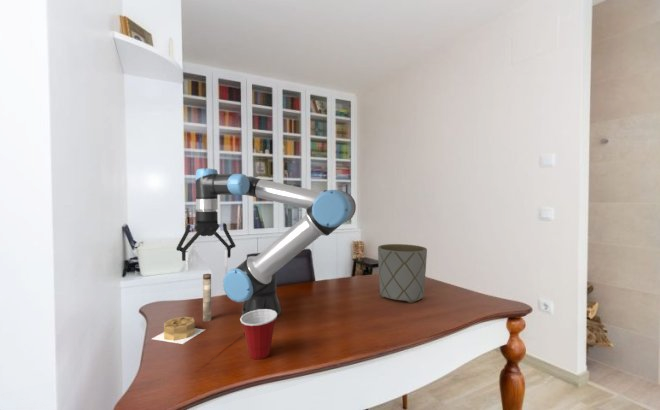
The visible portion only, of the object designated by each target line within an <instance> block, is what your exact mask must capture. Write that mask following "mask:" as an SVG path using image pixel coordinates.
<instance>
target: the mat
mask: <svg viewBox="0 0 660 410" xmlns="http://www.w3.org/2000/svg"><path fill="white" fill-rule="evenodd" d="M203 332H205V329H202V328H196V327H195V334H193V335H191V336H190V337H188V338H186V339H180V340H175V341H172V340H166V339H164V331H163V332H162V333H160V334H157V335H155V336H154V337H152V338H151V340H154V341H163V342H168V343H174V344H181V345H184V344H185V343H187V342H188V341H190V340H192V339H193V338H194V337H196V336H198V335H199V334H201V333H203Z"/></svg>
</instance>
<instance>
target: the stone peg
mask: <svg viewBox="0 0 660 410" xmlns="http://www.w3.org/2000/svg"><path fill="white" fill-rule="evenodd" d="M211 320H212V274H211V273H204V274H203V275H202V321H203V322H211Z"/></svg>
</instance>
